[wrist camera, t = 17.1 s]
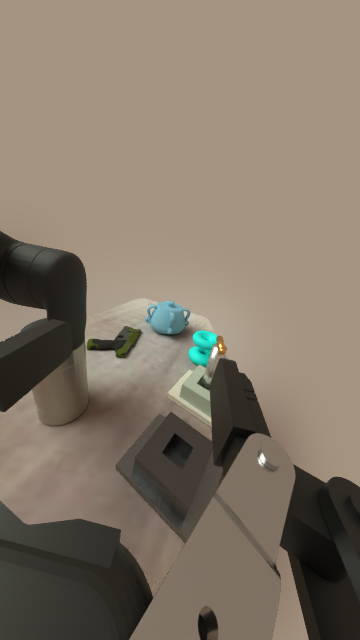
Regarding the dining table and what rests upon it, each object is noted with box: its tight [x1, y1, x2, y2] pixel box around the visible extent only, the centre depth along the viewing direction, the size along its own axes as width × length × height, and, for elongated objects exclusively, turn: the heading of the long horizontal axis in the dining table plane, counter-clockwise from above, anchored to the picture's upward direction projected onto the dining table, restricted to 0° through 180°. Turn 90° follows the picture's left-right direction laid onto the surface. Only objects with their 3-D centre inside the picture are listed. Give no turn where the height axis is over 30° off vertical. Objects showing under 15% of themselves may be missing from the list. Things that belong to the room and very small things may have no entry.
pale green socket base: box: [167, 365, 212, 428], centre depth 45 cm, size 16×12×6 cm
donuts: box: [189, 330, 217, 367], centre depth 61 cm, size 10×10×10 cm
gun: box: [87, 326, 141, 358], centre depth 63 cm, size 2×19×15 cm
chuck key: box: [201, 336, 227, 391], centre depth 42 cm, size 7×3×18 cm, turn 175°
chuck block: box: [116, 412, 223, 543], centre depth 30 cm, size 16×12×6 cm
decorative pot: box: [145, 301, 190, 335], centre depth 76 cm, size 16×16×14 cm
